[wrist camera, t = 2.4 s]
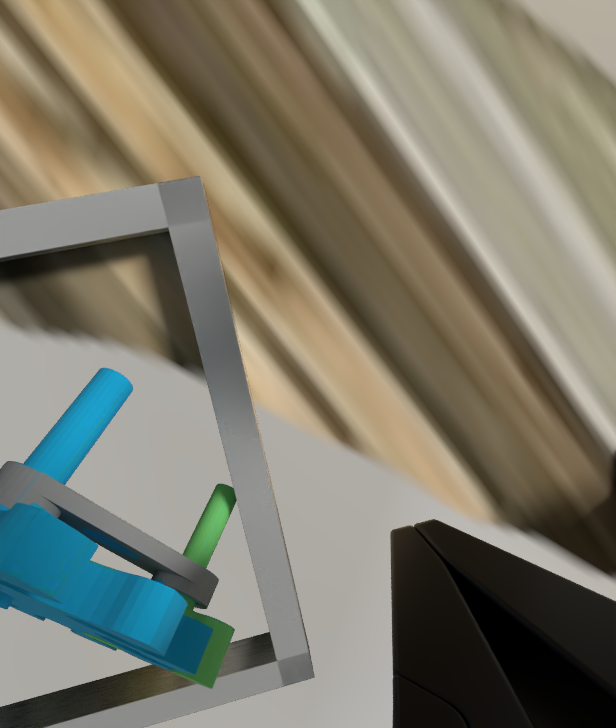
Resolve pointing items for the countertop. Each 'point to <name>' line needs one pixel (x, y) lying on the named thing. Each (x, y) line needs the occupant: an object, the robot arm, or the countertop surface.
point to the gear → (95, 524)
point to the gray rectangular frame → (241, 445)
